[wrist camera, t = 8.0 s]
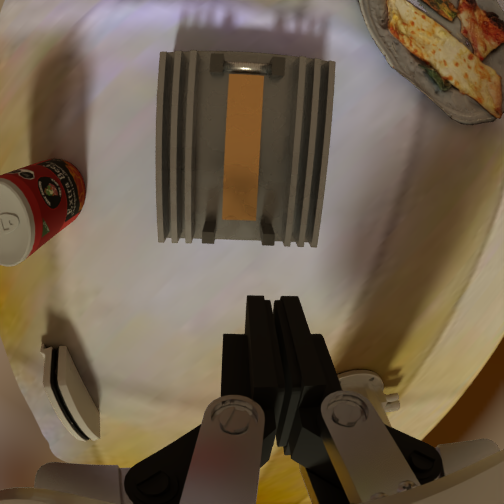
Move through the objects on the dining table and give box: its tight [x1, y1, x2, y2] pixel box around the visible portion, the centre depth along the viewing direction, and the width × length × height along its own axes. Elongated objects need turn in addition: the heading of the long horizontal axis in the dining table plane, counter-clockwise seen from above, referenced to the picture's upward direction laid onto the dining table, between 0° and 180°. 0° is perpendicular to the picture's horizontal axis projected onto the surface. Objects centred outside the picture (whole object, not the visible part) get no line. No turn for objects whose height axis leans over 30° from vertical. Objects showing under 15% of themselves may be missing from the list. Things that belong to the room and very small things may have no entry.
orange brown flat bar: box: [222, 74, 264, 221], centre depth 24 cm, size 3×12×1 cm, turn 177°
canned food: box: [0, 159, 86, 266], centre depth 23 cm, size 8×8×11 cm
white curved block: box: [41, 344, 100, 441], centre depth 36 cm, size 17×5×10 cm, turn 0°
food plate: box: [359, 0, 504, 125], centre depth 21 cm, size 25×23×4 cm
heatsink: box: [156, 50, 335, 247], centre depth 25 cm, size 14×17×6 cm
